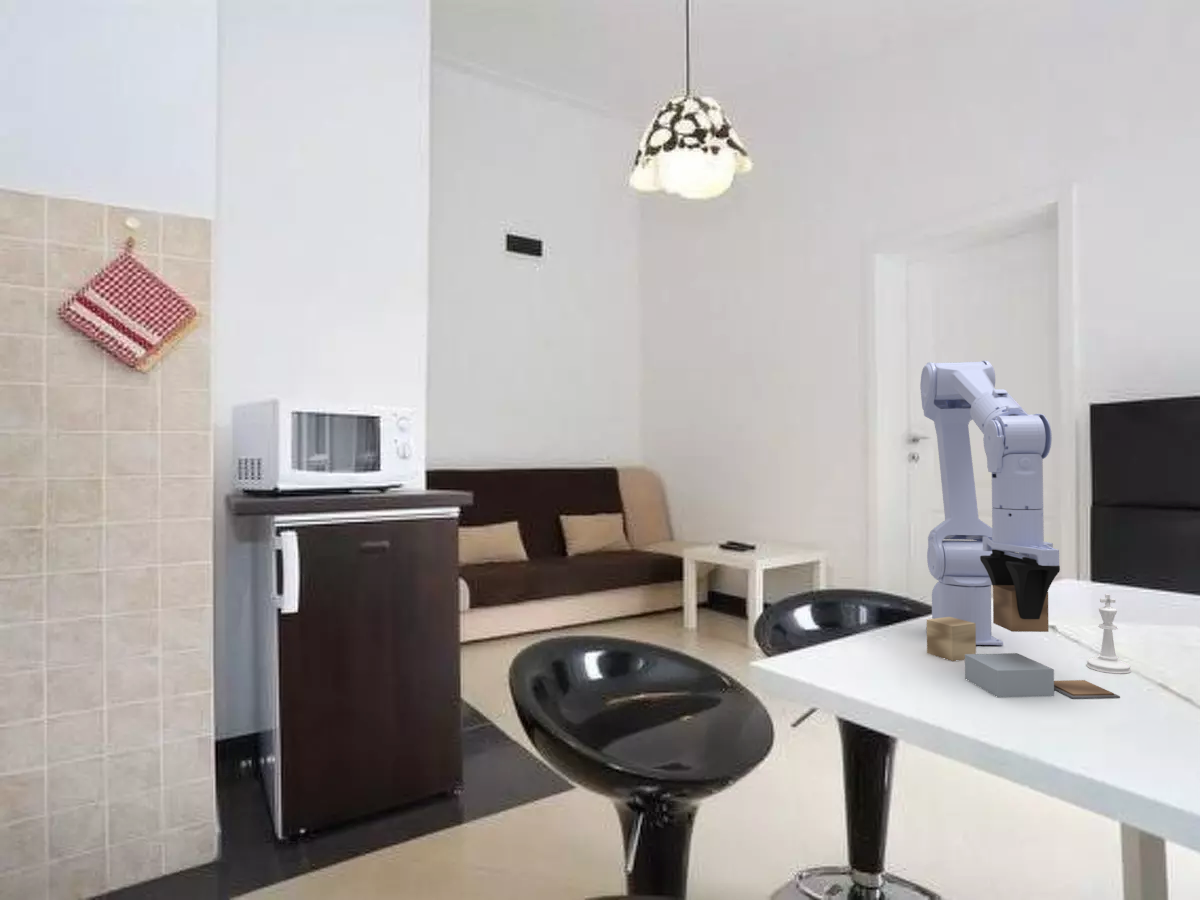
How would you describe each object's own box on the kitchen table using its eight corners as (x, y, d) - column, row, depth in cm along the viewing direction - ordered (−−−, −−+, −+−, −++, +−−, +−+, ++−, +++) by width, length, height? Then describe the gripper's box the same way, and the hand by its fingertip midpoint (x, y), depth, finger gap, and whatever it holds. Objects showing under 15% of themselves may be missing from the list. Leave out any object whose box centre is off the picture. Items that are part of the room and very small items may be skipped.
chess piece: (1138, 674, 94) (1137, 598, 94) (1096, 672, 95) (1096, 597, 95) (1119, 664, 98) (1118, 591, 99) (1079, 662, 99) (1078, 590, 100)
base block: (965, 681, 93) (964, 654, 93) (1017, 679, 93) (1017, 653, 93) (997, 699, 86) (997, 670, 86) (1054, 698, 86) (1053, 669, 86)
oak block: (926, 653, 105) (926, 619, 105) (949, 650, 106) (949, 616, 106) (952, 661, 100) (952, 626, 100) (975, 658, 102) (975, 623, 102)
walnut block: (993, 623, 94) (993, 585, 94) (1028, 623, 94) (1027, 585, 94) (1012, 631, 89) (1011, 591, 89) (1048, 631, 89) (1048, 591, 89)
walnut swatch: (1040, 683, 91) (1040, 679, 91) (1085, 682, 91) (1085, 679, 91) (1072, 698, 85) (1072, 695, 85) (1119, 697, 85) (1119, 694, 85)
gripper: (1084, 512, 84) (1086, 627, 84) (1018, 504, 99) (1020, 602, 99) (1023, 512, 85) (1025, 627, 84) (966, 504, 99) (968, 602, 99)
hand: (1018, 614), depth 92 cm, fingers closed on walnut block, 4 cm apart
